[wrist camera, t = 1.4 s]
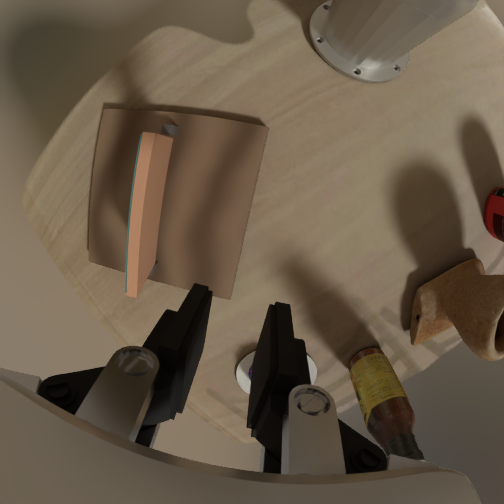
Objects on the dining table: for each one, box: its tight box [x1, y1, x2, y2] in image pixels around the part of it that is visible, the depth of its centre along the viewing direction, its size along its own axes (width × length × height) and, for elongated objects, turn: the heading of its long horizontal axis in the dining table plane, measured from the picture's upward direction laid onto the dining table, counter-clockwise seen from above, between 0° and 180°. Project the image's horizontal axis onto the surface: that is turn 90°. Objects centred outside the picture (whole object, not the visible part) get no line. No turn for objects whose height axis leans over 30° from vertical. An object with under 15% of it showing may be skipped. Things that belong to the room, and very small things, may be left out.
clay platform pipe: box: [410, 259, 504, 361], centre depth 25 cm, size 15×12×15 cm
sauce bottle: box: [349, 348, 425, 462], centre depth 27 cm, size 6×6×20 cm
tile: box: [125, 132, 173, 298], centre depth 24 cm, size 8×14×1 cm
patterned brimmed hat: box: [236, 351, 317, 395], centre depth 35 cm, size 12×12×5 cm
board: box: [89, 109, 269, 300], centre depth 29 cm, size 20×20×3 cm
